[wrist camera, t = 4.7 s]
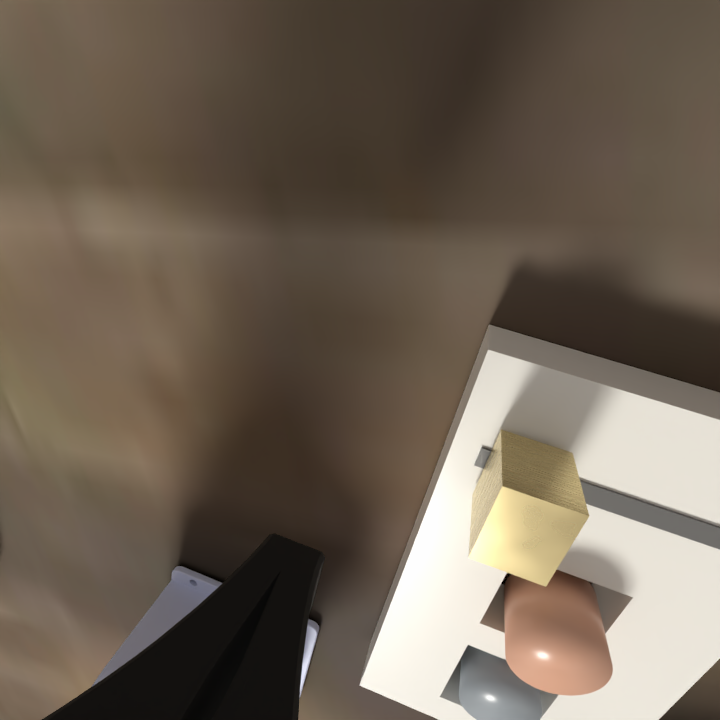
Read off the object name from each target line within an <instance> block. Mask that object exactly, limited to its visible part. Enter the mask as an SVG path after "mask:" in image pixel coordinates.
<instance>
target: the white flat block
mask: <svg viewBox="0 0 720 720" xmlns="http://www.w3.org/2000/svg"><path fill="white" fill-rule="evenodd" d="M501 429H502V430H505V431H508V432H511V433H514V434H517V435H520V436H523V437H526V438H529V439H532V440H535V441H538V442H541V443H544V444H547V445H550V446H553V447H556V448H559V449H563V450H566V451H569V452H572V453H573V456H574V460H575V464H576V468H577V471H578V475H579V479H580V483H581V486H582V490H583V494H584V498H585V502H586V505H587V509H588V513H589V518H588V519H587V521H586V523H585V524H584V526H583V528H582V529H581V531H580V532H579V534H578V536H577V537H576V539H575V541H574V542H573V544H572V545H571V547H570V549H569V550H568V552H567V554H566V555H565V557H564V558H563V560H562V562H561V563H560V565H559V567H558V568H557V570H560V571H562V572H565V573H568V574H571V575H573V576H576V577H579V578H581V579H584V580H587V581H590V582H592V584H591V585H592V587H593V588H594V590H595V593H596V596H597V601H598V605H599V609H600V614H601V618H602V622H603V626H604V631H605V635H606V639H607V644H608V648H609V652H610V657H611V661H612V665H613V672H612V676H611V679H610V680H609V682H608V683H607V684H606V685H605V686H604V687H602V688H601V689H599V690H597V691H595V692H592V693H589V694H584V695H575V696H568V695H557V694H552V693H548V692H545V691H542V690H540V693H541V705H542V716H541V719H540V720H659V719H660V718H661V717H662V716H663V715H664V714H665V713H666V712H667V711H668V710H669V709H670V708H671V707H672V706H673V705H674V704H675V703H676V702H677V701H678V700H679V699H680V698H681V697H682V696H683V695H684V694H685V693H686V692H687V691H688V690H689V689H690V688H691V687H692V686H693V685H694V684H695V683H696V682H697V681H698V680H699V679H700V678H701V677H702V676H703V675H704V674H705V673H706V672H707V671H708V670H709V669H710V668H711V667H712V666H713V665H714V664H715V663H716V662H717V661H718V660H719V659H720V392H716V391H713V390H710V389H706V388H703V387H699V386H696V385H693V384H689V383H686V382H682V381H679V380H676V379H672V378H669V377H666V376H662V375H659V374H655V373H652V372H649V371H645V370H642V369H638V368H635V367H632V366H628V365H625V364H621V363H618V362H615V361H611V360H608V359H605V358H601V357H598V356H594V355H591V354H588V353H584V352H581V351H577V350H574V349H571V348H567V347H564V346H560V345H557V344H554V343H550V342H547V341H544V340H540V339H537V338H533V337H530V336H527V335H523V334H520V333H516V332H513V331H510V330H506V329H503V328H499V327H496V326H493V325H489V326H488V328H487V331H486V334H485V336H484V339H483V342H482V344H481V347H480V350H479V352H478V355H477V358H476V360H475V363H474V366H473V368H472V371H471V374H470V376H469V379H468V382H467V384H466V387H465V390H464V392H463V395H462V398H461V401H460V403H459V406H458V409H457V411H456V414H455V417H454V419H453V422H452V425H451V427H450V430H449V433H448V435H447V438H446V441H445V443H444V446H443V449H442V451H441V454H440V457H439V459H438V462H437V465H436V467H435V470H434V473H433V476H432V478H431V481H430V484H429V486H428V489H427V492H426V494H425V497H424V500H423V502H422V505H421V508H420V510H419V513H418V516H417V518H416V521H415V524H414V526H413V529H412V532H411V534H410V537H409V540H408V542H407V545H406V548H405V551H404V553H403V556H402V559H401V561H400V564H399V567H398V569H397V572H396V575H395V577H394V580H393V583H392V585H391V588H390V591H389V593H388V596H387V599H386V601H385V604H384V607H383V609H382V612H381V615H380V617H379V620H378V623H377V626H376V628H375V631H374V634H373V636H372V639H371V642H370V646H369V650H368V654H367V658H366V662H365V666H364V670H363V673H362V677H361V681H360V686H362V687H364V688H367V689H369V690H371V691H374V692H376V693H378V694H381V695H383V696H385V697H388V698H390V699H392V700H395V701H397V702H399V703H402V704H404V705H406V706H409V707H411V708H413V709H416V710H418V711H420V712H423V713H425V714H427V715H430V716H432V717H434V718H437V719H439V720H476V719H475V718H473V717H472V716H471V715H470V714H469V713H468V712H467V711H466V710H465V709H464V708H463V706H462V705H461V703H460V700H459V684H460V669H461V657H462V655H463V653H464V651H465V649H466V647H467V646H468V645H470V646H472V647H475V648H477V649H480V650H482V651H485V652H487V653H490V654H492V655H495V656H497V657H500V658H502V659H505V660H506V656H505V620H504V586H505V585H504V584H501V583H502V581H503V579H504V577H505V575H506V574H507V572H505V571H502V570H499V569H497V568H494V567H491V566H489V565H486V564H483V563H481V562H478V561H475V560H472V559H470V558H468V556H469V540H470V525H471V510H472V494H473V492H474V490H475V487H476V485H477V483H478V481H479V478H480V476H481V474H482V471H483V469H484V467H485V465H486V462H487V460H488V458H489V455H490V453H491V451H492V449H493V446H494V444H495V442H496V439H497V437H498V435H499V433H500V430H501Z"/></svg>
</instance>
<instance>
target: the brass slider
mask: <svg viewBox="0 0 720 720" xmlns="http://www.w3.org/2000/svg"><path fill="white" fill-rule="evenodd" d="M588 518H589V513H588V509H587V505H586V502H585V498H584V494H583V490H582V486H581V483H580V479H579V475H578V471H577V468H576V464H575V460H574V456H573V453H572V452H569V451H566V450H563V449H559V448H556V447H553V446H550V445H547V444H544V443H541V442H538V441H535V440H532V439H529V438H526V437H523V436H520V435H517V434H514V433H511V432H508V431H505V430H502V429H501V430H500V433H499V435H498V437H497V439H496V442H495V444H494V446H493V449H492V451H491V453H490V455H489V458H488V460H487V462H486V465H485V467H484V469H483V471H482V474H481V476H480V478H479V481H478V483H477V485H476V487H475V490H474V492H473V494H472V510H471V525H470V540H469V556H468V558H470V559H472V560H475V561H478V562H481V563H483V564H486V565H489V566H491V567H494V568H497V569H499V570H502V571H505V572H507V573H510V574H513V575H515V576H518V577H521V578H523V579H526V580H529V581H531V582H534V583H537V584H539V585H542V586H545V587H546V586H547V584H548V583H549V581H550V580H551V578H552V576H553V575H554V573H555V571H556V570H557V568H558V567H559V565H560V563H561V562H562V560H563V558H564V557H565V555H566V554H567V552H568V550H569V549H570V547H571V545H572V544H573V542H574V541H575V539H576V537H577V536H578V534H579V532H580V531H581V529H582V528H583V526H584V524H585V523H586V521H587V519H588Z"/></svg>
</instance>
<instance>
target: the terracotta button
mask: <svg viewBox="0 0 720 720" xmlns="http://www.w3.org/2000/svg"><path fill="white" fill-rule="evenodd" d="M504 620H505V656H506V661H507V663H508V665H509V667H510V669H511V670H512V671H513V673H514V674H515V675H516V676H517V677H519V678H520V679H521V680H522V681H524V682H525V683H527V684H529V685H531V686H532V687H535V688H537V689H539V690H542V691H545V692H548V693H552V694H557V695H568V696H575V695H584V694H589V693H592V692H595V691H597V690H599V689H601V688H602V687H604V686H605V685H606V684H607V683H608V682H609V680H610V679H611V676H612V672H613V665H612V661H611V657H610V652H609V648H608V644H607V639H606V635H605V631H604V626H603V622H602V618H601V614H600V609H599V605H598V601H597V596H596V593H595V590H594V588H593V587H592V585H591V584H590V583H589V582H588V581H587V580H584V579H581V578H579V577H576V576H573V575H571V574H568V573H565V572H562V571H560V570H556V571H555V573H554V575H553V576H552V578H551V580H550V581H549V583H548V584H547V586H546V587H545V586H542V585H539V584H537V583H534V582H531V581H529V580H526V579H523V578H521V577H518V576H515V575H513V574H511V575H510V576H509V577H508V579H507V580H506V582H505V586H504Z"/></svg>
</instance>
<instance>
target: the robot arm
mask: <svg viewBox="0 0 720 720" xmlns="http://www.w3.org/2000/svg"><path fill="white" fill-rule="evenodd" d="M324 560H325V556H324V555H323V553H322V552H320V551H318V550H315V549H313V548H310V547H308V546H305V545H302V544H300V543H297V542H295V541H292V540H290V539H287V538H285V537H282V536H280V535H277V534H275V533H274V534H271V535H269V536H268V537H267V538H266V539H265V540H264V542H263V543H262V544H261V545H260V546H259V547H258V548H257V549H256V550H255V552H254V553H253V554H252V555H251V556H250V557H249V558H248V559H247V560H246V561H245V562H244V563H243V564H242V565H241V566H240V567H239V568H238V569H237V570H236V571H235V572H234V573H233V574H232V575H231V576H230V577H229V578H228V579H227V580H226V581H224V582H223V583H221V582H219V581H216V580H214V579H212V578H209V577H207V576H204V575H202V574H200V573H197V572H195V571H192V570H190V569H187V568H185V567H183V566H177V567H175V568H174V570H173V571H172V580H171V581H170V582H169V584H168V585H167V586H166V588H165V589H164V590H163V592H162V593H161V594H160V596H159V597H158V598H157V599H156V601H155V602H154V603H153V605H152V606H151V607H150V609H149V610H148V611H147V613H146V614H145V615H144V617H143V618H142V619H141V620H140V622H139V623H138V624H137V626H136V627H135V628H134V630H133V631H132V632H131V634H130V635H129V636H128V637H127V639H126V640H125V641H124V643H123V644H122V645H121V647H120V648H119V649H118V651H117V652H116V653H115V655H114V656H113V657H112V658H111V660H110V661H109V662H108V664H107V665H106V666H105V668H104V669H103V671H102V672H101V673H100V675H99V676H98V678H97V679H96V681H95V682H94V684H93V685H92V687H91V688H89V689H88V690H86V691H85V692H83V693H82V694H81V695H79V696H78V697H76V698H75V699H73V700H72V701H70V702H69V703H67V704H66V705H64V706H62V707H61V708H59V709H58V710H56V711H55V712H53V713H52V714H50V715H48V716H47V717H45V718H44V719H42V720H298V712H299V698H300V696H301V693H302V689H303V685H304V682H305V678H306V675H307V671H308V668H309V664H310V660H311V657H312V653H313V650H314V646H315V643H316V639H317V635H318V632H319V626H318V624H317V623H316V622H315V621H313V620H310V619H309V613H310V610H311V608H312V605H313V601H314V597H315V593H316V590H317V586H318V582H319V578H320V575H321V571H322V567H323V563H324Z"/></svg>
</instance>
